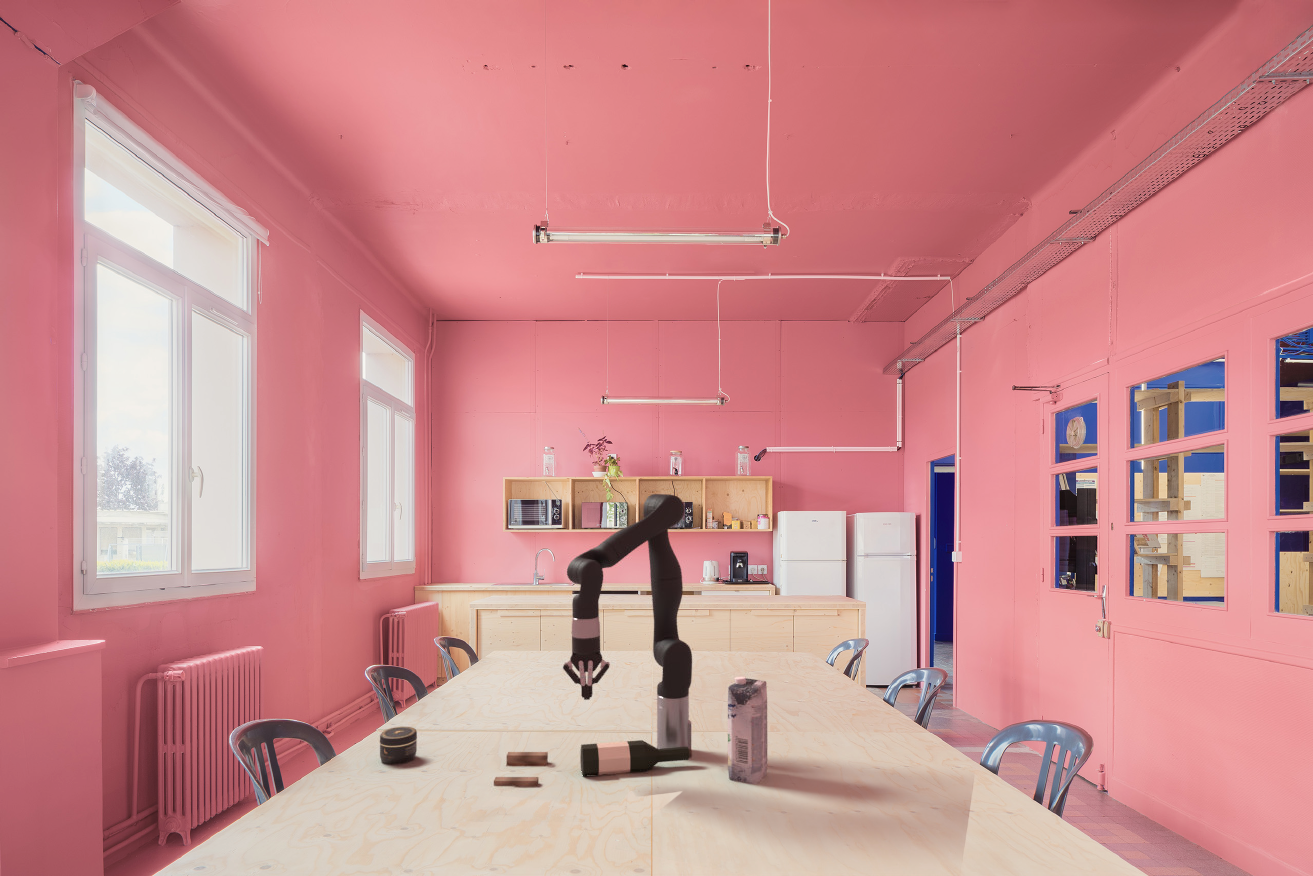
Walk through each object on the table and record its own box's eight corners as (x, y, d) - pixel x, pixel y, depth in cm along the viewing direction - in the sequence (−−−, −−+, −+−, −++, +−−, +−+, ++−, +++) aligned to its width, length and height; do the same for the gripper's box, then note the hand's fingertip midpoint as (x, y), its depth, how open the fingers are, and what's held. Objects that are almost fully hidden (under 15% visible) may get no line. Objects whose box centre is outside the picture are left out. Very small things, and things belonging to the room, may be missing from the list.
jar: (371, 763, 210) (371, 735, 210) (396, 750, 219) (396, 724, 220) (400, 769, 206) (400, 740, 207) (424, 755, 216) (424, 728, 216)
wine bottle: (583, 778, 196) (695, 769, 202) (582, 744, 200) (692, 736, 205) (581, 778, 204) (689, 769, 210) (579, 745, 207) (686, 737, 213)
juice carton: (770, 777, 201) (769, 675, 202) (758, 793, 191) (757, 685, 192) (738, 771, 205) (737, 671, 205) (725, 786, 195) (724, 681, 196)
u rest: (547, 762, 210) (547, 752, 210) (537, 793, 192) (537, 781, 192) (508, 762, 210) (508, 752, 210) (493, 793, 192) (493, 781, 192)
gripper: (611, 629, 205) (612, 694, 205) (562, 630, 205) (563, 694, 205) (609, 636, 198) (611, 703, 198) (559, 637, 198) (560, 704, 198)
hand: (586, 698), depth 201 cm, fingers closed
